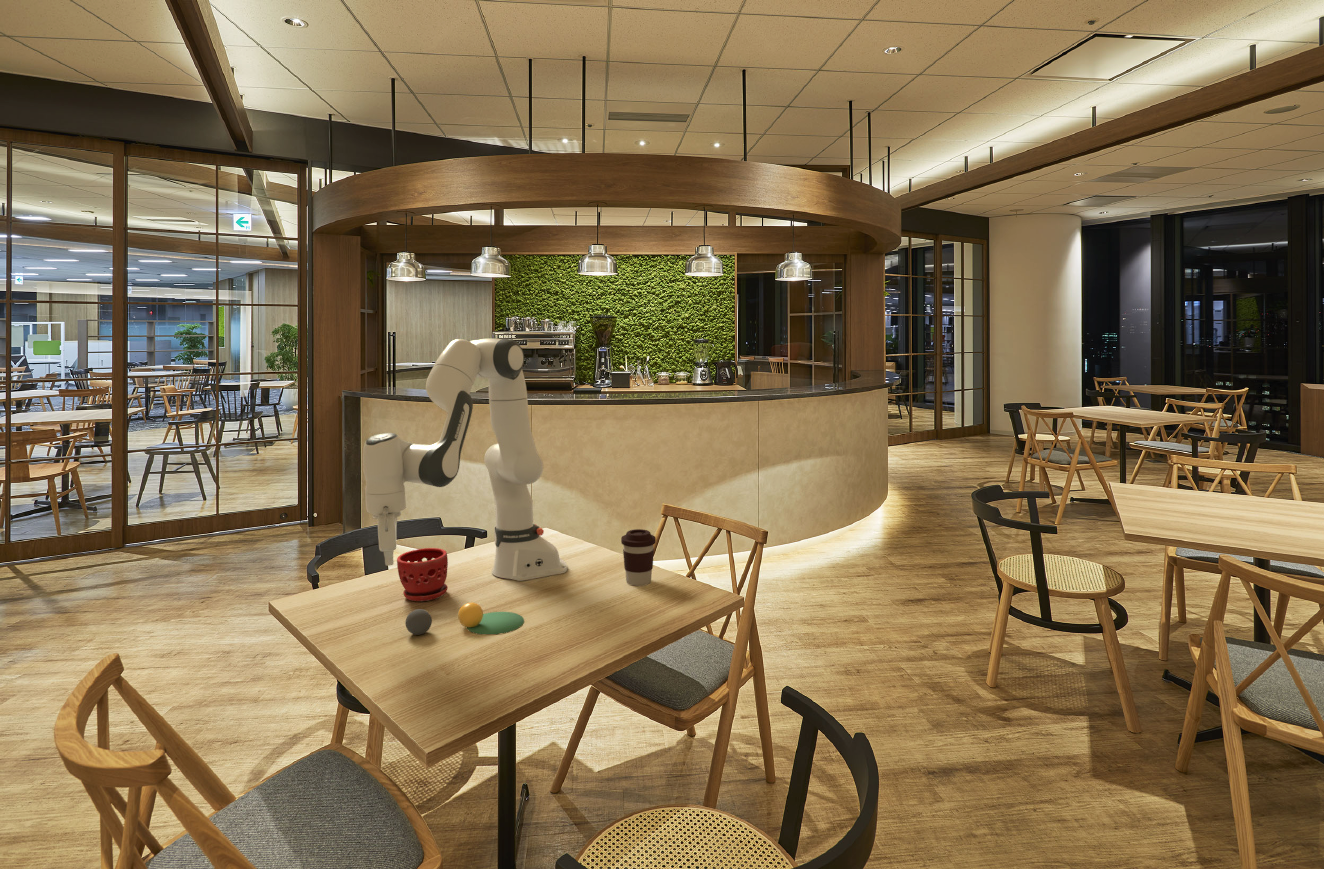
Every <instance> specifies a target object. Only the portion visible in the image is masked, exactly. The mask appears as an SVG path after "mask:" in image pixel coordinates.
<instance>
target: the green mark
mask: <svg viewBox="0 0 1324 869" xmlns="http://www.w3.org/2000/svg"><path fill="white" fill-rule="evenodd" d="M524 623H525V619H524V617H523V616H522V615H520V614H519V613H515V612H512V611H511V612H510V611H492V612H486V613H483V618H482V621H481V622H480V623H479V624H478V625H477V626H475V627H471V628H469V627H466V629H467V631H469V632H471V633H473V632H474V633H473V634H476V633H477V635H482V634H496V635H500V634H499V633H503V634H506V632H507V633H510V631H511V632H513V631H516V630H518V629H519V628H520V626H521V627H522V626H523V624H524Z"/></svg>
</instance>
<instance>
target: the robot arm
mask: <svg viewBox="0 0 1324 869" xmlns="http://www.w3.org/2000/svg"><path fill="white" fill-rule="evenodd" d="M524 364H525V354H524V350H523V348H522V347H521V345H520V344H519V342H517V341H516V340H513V339H509V338H490V337H489V338H488V337H487V338H486V337H484V338H481V339H473V340H469V339H463V338H456V339H454V340H452V341H450V342H449V343H448V344H447V345H446V346H445V348H444V349H443V351H442V352H441V353H440V354H439V356H438V357H437V360H436V361H434V365H433V366H432V368H431V370H430V371H429V374H428V377H427V379H426V383H425V392H426V393H427V396H428V398H429V399H430V400H431V402H432V403H433V404H434V405H436V406H437V407H438V408H440V409H441V410H443V411H444V412H446V418H445V421H444V424H443V427H442V432H441V434H440V437H439V439H438V441H436V442H435V443H433V444H423V443H414V442H411V441H407V440H405V439H402V438H401V437H399V435H398V434H397V433H393V432H384V433H377V434H375V435H372V436H370V437H368V438H367V439H366V440H365V441H364V445H363V448H362V449H363V450H362V468H363V469H362V471H363V477H364V479H365V489H364V495H365V496H364V498H365V511H366V512H367V513H368V514H372V519H374V520H377V536H378V537H377V538H378V549H379V551H380V552H383V557H384V564H385V566H387V567H388V566H393V565H394V551H396V549H397V523H398V518H399V517H400V516H401V515H402V514H401V513H402V511H403V510H406V508H407V502H406V488H405V485H404V484H405V482H406V483H407V482H408V483H412V484H422V485H423V484H425V485H428V486H432V487H437V488H444V487H447V486H449V484H451V482H453V481H454V479H455V478H456V477H457V476H458V473H459V470H460V464H461V462H460V461H461V454H462V450H463V446H464V442H465V440H466V436H467V433H468V428H469V426H470V421H471V417H472V415H473V408H474V407H473V406H474V402H473V397H472V396H471V395H470V394H471V390H472V387H473V385H474V383H475V381H476V378H477V379H487V380H488V401H489V414H490V425H491V429H492V431H493V434H494V435H495V438H496V440H497V441H496V442H497V443H494V444H492V445H490V447H489V448H487V449H486V452H485V454H484V457H483V460H484V466H485V467H486V470H487V472H488V475H489V479H490V485H491V488H492V492H493V497H494V499H493V500H494V505H495V527H494V533H493V534H494V545H495V557H494V562H493V568H492V570H491V573H492V574H493V575H494V576H495V577H498V578H502V579H508V580H514V581H518V582H522V581H528V580H533V579H538V578H543V577H548V576H554V575H559V574H565V573H566V572H567V571H568V564H567V563H566V561H565V560H564V559H561V558H560V554H559V551H558V549H557V547H556V546H555V545H554V544H553V543H551V541H548V540H547V539H545V538H544V537H542V536H543V535H544V532H545V531H544V529H543V528H542V527H540V526H539V525H537V524H535V523H534V501H533V498H532V495H531V493H530V492H529V488H528V485H531V484H534V483H536V482H537V481H538V480H539V479H540V477H542V475H543V471H544V462H543V460H542V458H541V456H540V455H539V453H538V451H537V447H536V443H535V441H534V437H533V433H532V429H531V425H530V415H529V402H528V390H527V384H526V379H525V375H524V372H523V367H524Z"/></svg>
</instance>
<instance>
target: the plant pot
mask: <svg viewBox="0 0 1324 869" xmlns="http://www.w3.org/2000/svg"><path fill="white" fill-rule="evenodd" d="M423 559H426V560H425V561H423ZM448 560H449V558H448V553H447V551H446V550H445V549H443V548H439V547H438V548H437V547H425V548H418V549H413V550H408V551H407V552H403V553H402V554H400V555H399V556H397V558H396V565H397V573H398V577H399V578H398V579H399V580H400V583H401V585H402V587H403V589H404V590H403V594H402V595H403V596H404V597H405V599H408V600H409V601H413V602H427V601H433V600H435V599H440V597H442V596H444V595H445V594H446V593H447V591H448V585H447V584H446V581H447V577H448V565H449V562H448Z"/></svg>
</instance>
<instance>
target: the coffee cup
mask: <svg viewBox="0 0 1324 869" xmlns="http://www.w3.org/2000/svg"><path fill="white" fill-rule="evenodd" d="M620 540H621V545H623V548H622V549H623V550H622V552H623V555H622V556H623V566H624V570H625V581H626V583H627V584H628V585H630V586H635V587H640V586H641V587H642V586H647V585H648V584H650V583H651V582H652V571H653V567H654V555H655V554H654V553H655V552H654V551H655V549H654V546H655V544H656V542H657V540H656V536H655V535H653V534H652V532H651V531H649V530H647V529H642V528H641V529H640V528H639V529H638V528H637V529H635V528H634V529H630V530H628V531H627V532H626V533H625V534H624V535H622V536H621V539H620Z"/></svg>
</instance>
